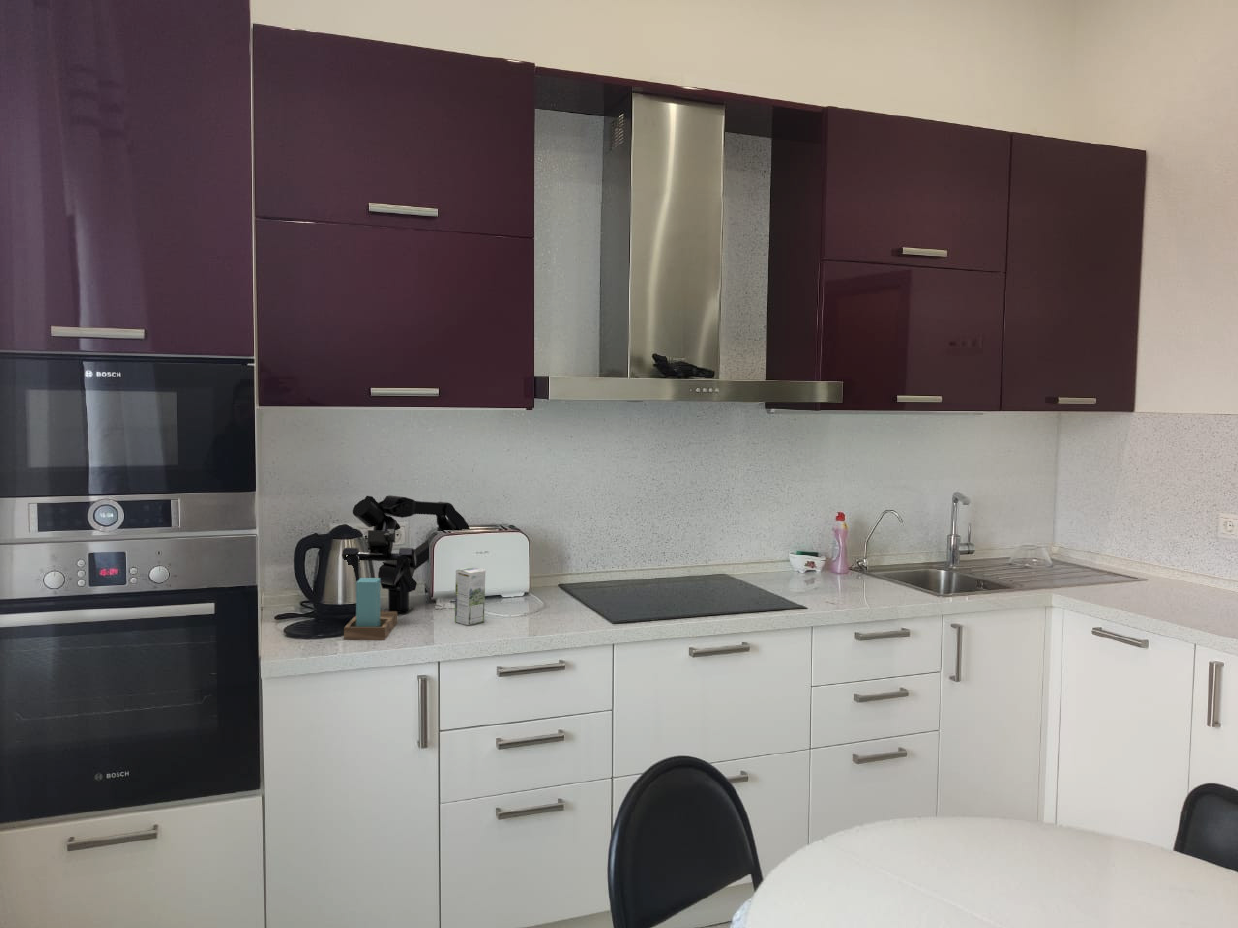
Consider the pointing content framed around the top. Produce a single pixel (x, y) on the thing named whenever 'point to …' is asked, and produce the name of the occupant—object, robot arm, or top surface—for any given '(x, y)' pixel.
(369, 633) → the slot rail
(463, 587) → the syrup box
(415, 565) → the robot arm
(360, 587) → the teal peg block
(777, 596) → the top surface
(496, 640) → the top surface
